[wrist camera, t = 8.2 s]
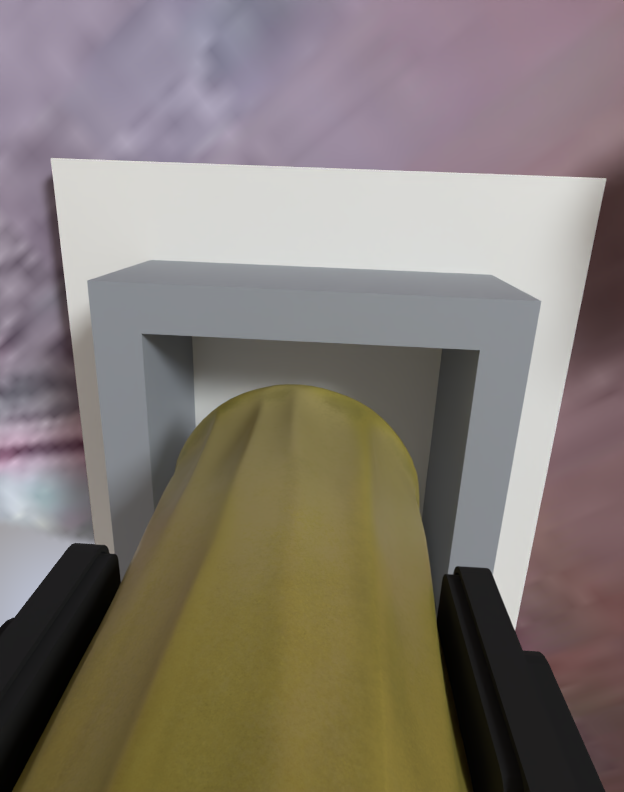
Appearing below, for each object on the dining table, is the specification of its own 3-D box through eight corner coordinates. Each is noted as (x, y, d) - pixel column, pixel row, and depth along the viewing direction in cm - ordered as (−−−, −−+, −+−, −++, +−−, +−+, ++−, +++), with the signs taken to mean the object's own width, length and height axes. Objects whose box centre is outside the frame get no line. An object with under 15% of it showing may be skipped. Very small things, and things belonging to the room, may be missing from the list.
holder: (591, 179, 17) (703, 171, 11) (507, 611, 22) (557, 738, 17) (66, 160, 17) (-53, 144, 12) (111, 584, 23) (42, 699, 17)
